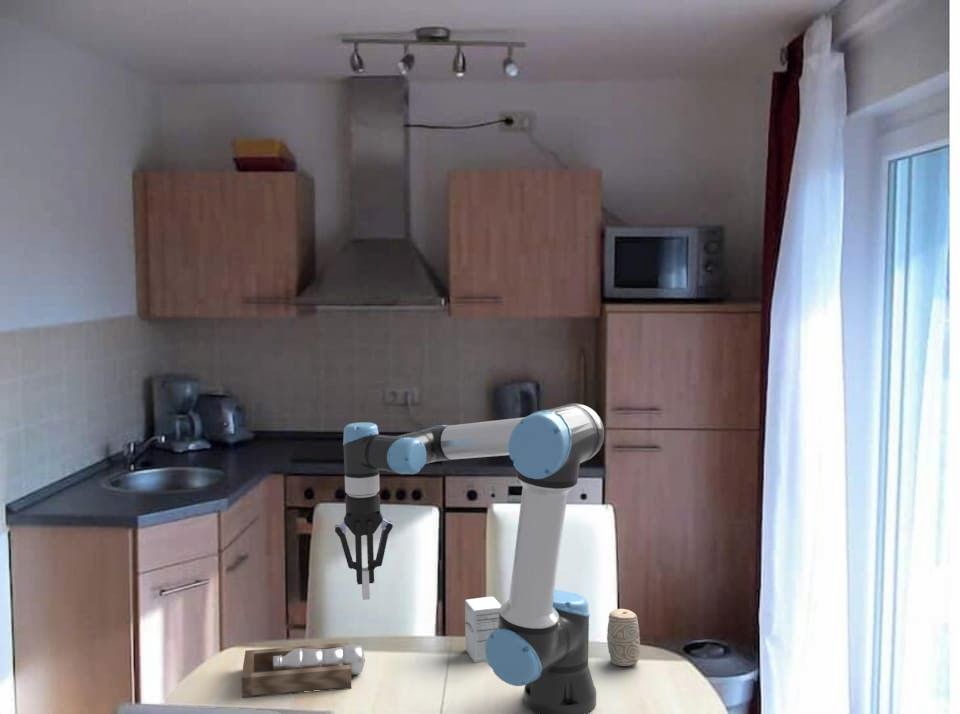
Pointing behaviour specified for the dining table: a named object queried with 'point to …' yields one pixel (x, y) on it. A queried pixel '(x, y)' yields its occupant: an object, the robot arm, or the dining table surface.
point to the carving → (623, 637)
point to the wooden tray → (289, 674)
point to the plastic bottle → (322, 658)
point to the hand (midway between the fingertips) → (365, 597)
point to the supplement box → (480, 624)
